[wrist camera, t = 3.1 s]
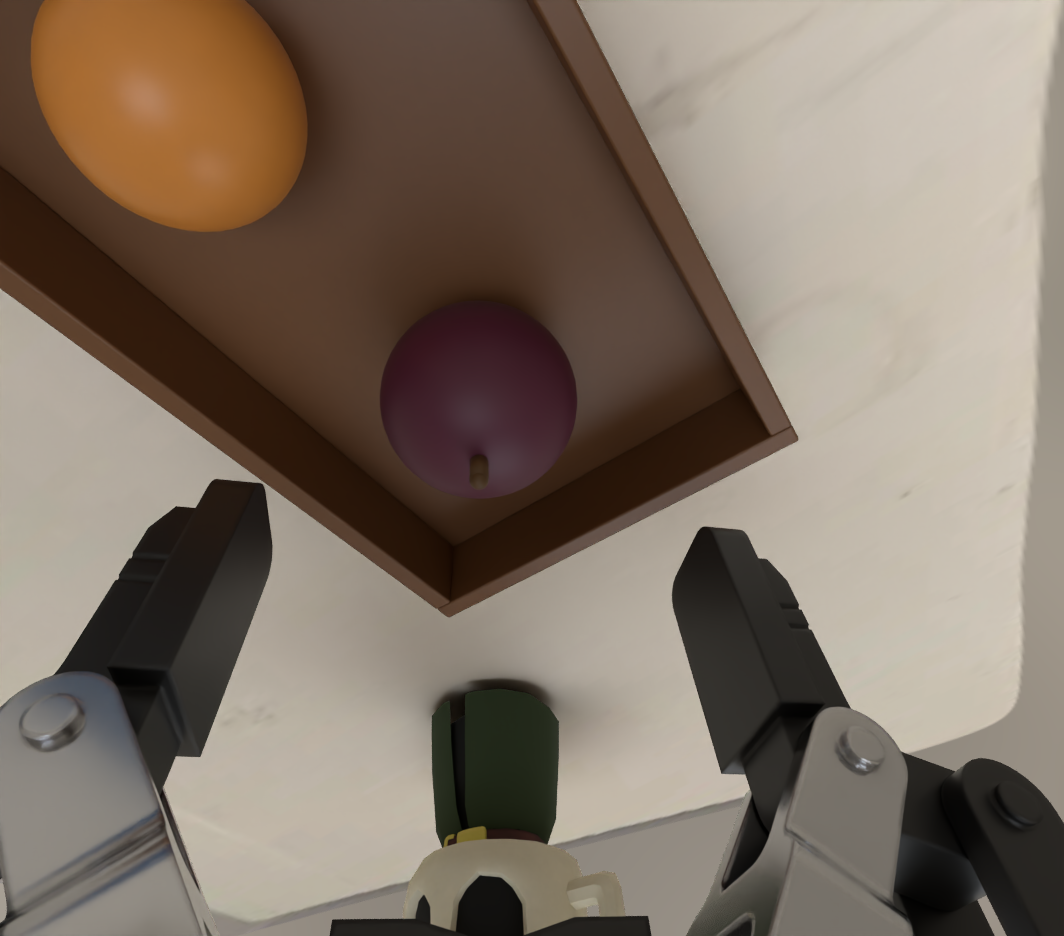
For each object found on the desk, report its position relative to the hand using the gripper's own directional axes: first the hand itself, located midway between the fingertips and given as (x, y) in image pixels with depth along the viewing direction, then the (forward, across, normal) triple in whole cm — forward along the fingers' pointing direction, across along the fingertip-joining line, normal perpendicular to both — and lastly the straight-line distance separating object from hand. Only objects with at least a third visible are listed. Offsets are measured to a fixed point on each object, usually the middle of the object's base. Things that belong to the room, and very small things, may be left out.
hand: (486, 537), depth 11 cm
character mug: (+8, -3, +20) cm, 22 cm away
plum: (+7, 0, 0) cm, 7 cm away
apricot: (+7, +6, -5) cm, 11 cm away
